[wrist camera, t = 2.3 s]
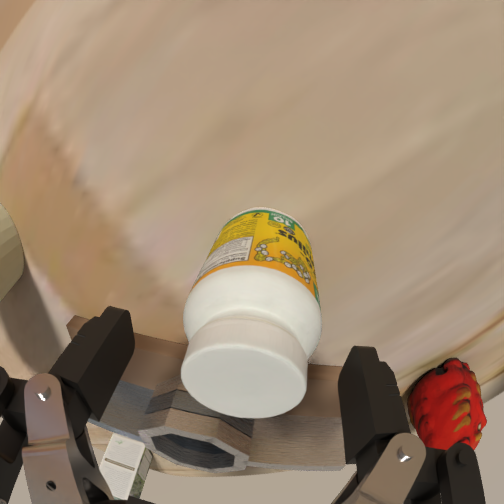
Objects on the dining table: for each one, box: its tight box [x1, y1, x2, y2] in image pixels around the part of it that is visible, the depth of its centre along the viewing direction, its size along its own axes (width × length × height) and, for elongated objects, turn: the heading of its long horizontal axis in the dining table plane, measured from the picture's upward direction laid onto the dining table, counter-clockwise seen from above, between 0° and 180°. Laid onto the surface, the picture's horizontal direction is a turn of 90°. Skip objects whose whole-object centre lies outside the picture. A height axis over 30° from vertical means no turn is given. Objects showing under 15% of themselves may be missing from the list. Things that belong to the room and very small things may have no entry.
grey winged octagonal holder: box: [87, 374, 345, 473], centre depth 20 cm, size 24×8×5 cm, turn 84°
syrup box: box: [99, 433, 153, 500], centre depth 28 cm, size 6×6×14 cm
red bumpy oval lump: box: [407, 358, 487, 450], centre depth 14 cm, size 8×7×15 cm
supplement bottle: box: [181, 207, 322, 418], centre depth 13 cm, size 5×5×10 cm
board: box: [66, 315, 343, 418], centre depth 23 cm, size 25×12×2 cm, turn 84°
